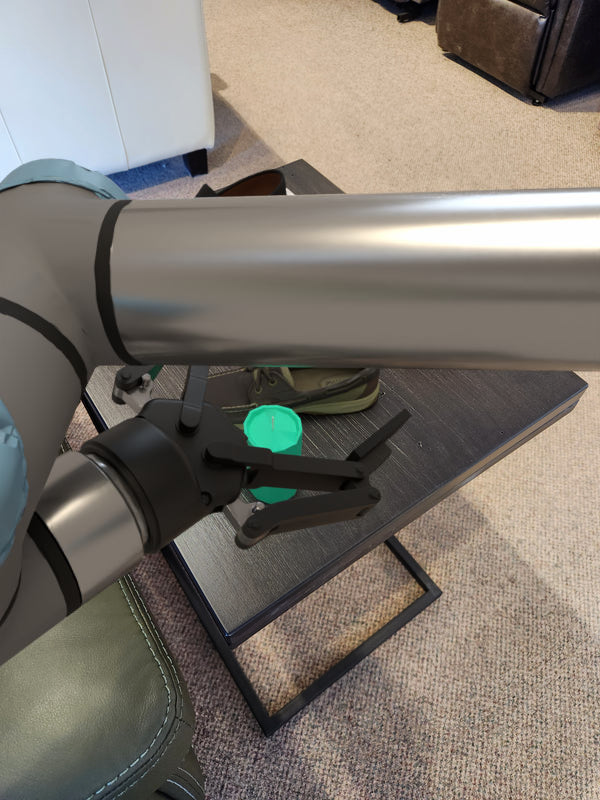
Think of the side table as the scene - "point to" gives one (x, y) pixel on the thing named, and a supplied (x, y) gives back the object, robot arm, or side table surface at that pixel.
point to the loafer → (251, 186)
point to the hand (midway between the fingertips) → (339, 359)
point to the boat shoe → (292, 390)
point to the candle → (274, 441)
